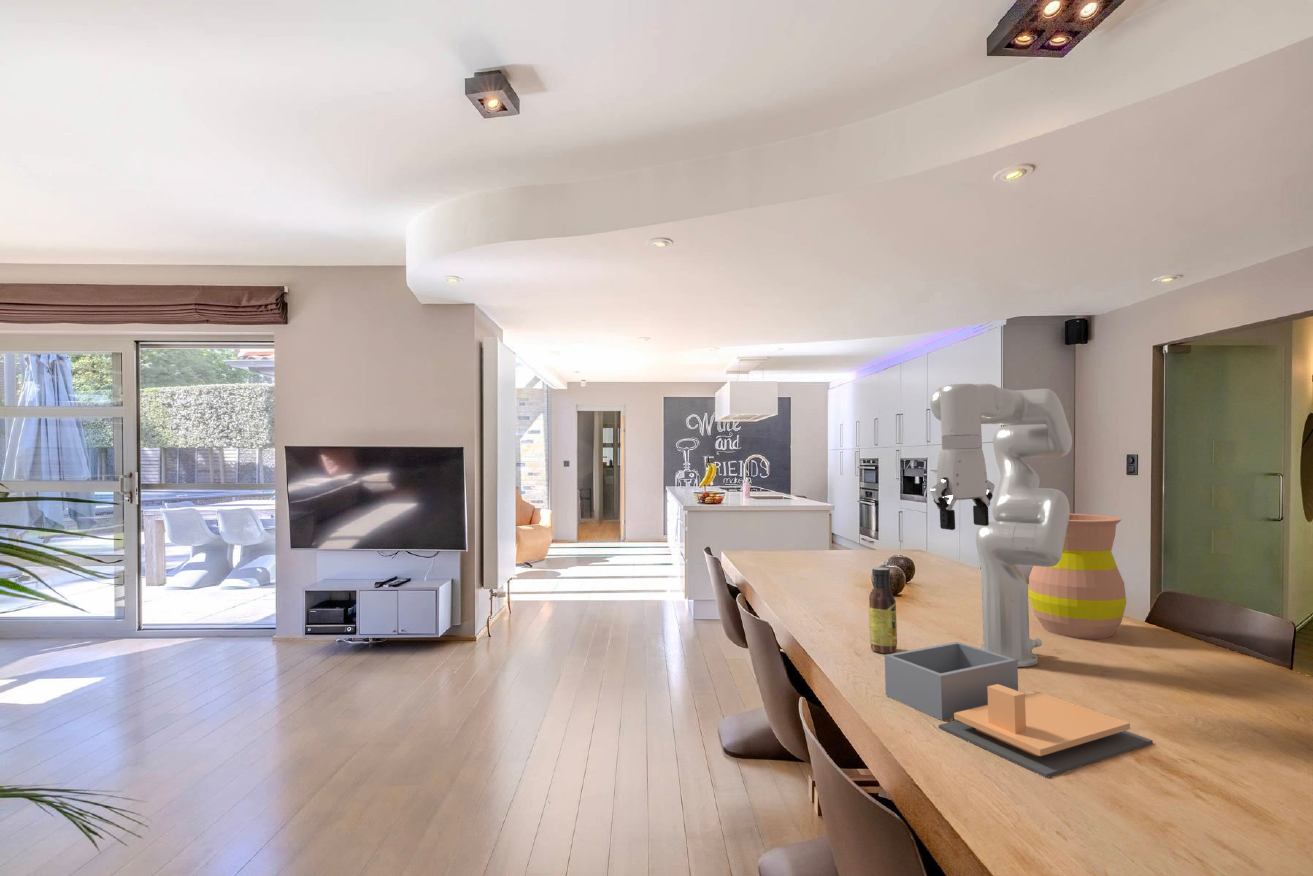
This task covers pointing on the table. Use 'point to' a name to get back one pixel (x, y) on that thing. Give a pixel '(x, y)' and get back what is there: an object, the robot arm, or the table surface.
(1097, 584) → the vase
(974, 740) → the mat
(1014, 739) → the lid
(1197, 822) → the table surface
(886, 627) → the sauce bottle
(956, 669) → the tub
